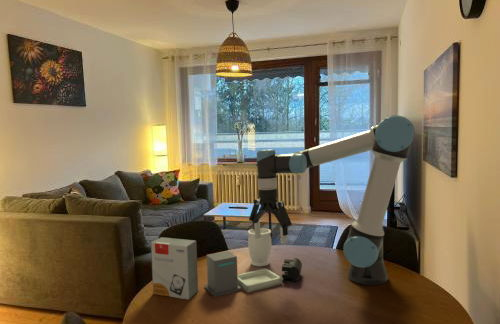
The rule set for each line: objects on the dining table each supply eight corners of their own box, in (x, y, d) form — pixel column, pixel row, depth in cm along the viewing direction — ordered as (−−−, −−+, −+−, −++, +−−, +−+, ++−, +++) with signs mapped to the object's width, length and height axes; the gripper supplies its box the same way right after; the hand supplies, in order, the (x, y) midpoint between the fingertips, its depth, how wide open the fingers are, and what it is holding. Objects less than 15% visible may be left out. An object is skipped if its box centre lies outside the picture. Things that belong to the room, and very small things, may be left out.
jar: (257, 258, 176) (256, 226, 175) (276, 262, 170) (275, 229, 169) (244, 265, 167) (243, 232, 166) (263, 269, 161) (262, 235, 160)
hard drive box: (152, 294, 139) (149, 242, 138) (163, 286, 147) (161, 236, 145) (189, 300, 134) (186, 245, 132) (199, 291, 141) (196, 239, 140)
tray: (281, 283, 146) (281, 277, 145) (247, 292, 139) (247, 286, 138) (266, 273, 156) (266, 268, 156) (233, 281, 149) (233, 275, 149)
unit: (241, 290, 141) (240, 256, 140) (214, 297, 136) (213, 262, 135) (230, 281, 150) (229, 249, 149) (204, 287, 145) (203, 254, 143)
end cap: (300, 283, 146) (299, 266, 145) (282, 282, 147) (281, 265, 147) (302, 273, 156) (301, 257, 155) (285, 272, 157) (284, 257, 157)
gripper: (298, 188, 143) (301, 243, 145) (251, 185, 160) (254, 234, 162) (286, 191, 138) (289, 248, 139) (238, 188, 155) (241, 238, 156)
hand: (270, 240), depth 151 cm, fingers open, 13 cm apart
